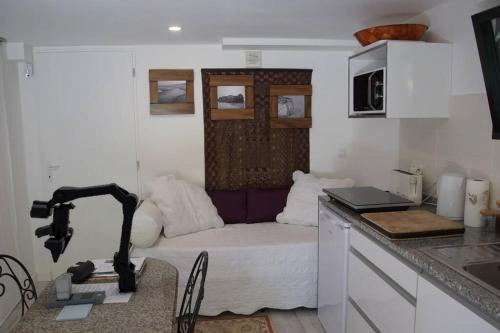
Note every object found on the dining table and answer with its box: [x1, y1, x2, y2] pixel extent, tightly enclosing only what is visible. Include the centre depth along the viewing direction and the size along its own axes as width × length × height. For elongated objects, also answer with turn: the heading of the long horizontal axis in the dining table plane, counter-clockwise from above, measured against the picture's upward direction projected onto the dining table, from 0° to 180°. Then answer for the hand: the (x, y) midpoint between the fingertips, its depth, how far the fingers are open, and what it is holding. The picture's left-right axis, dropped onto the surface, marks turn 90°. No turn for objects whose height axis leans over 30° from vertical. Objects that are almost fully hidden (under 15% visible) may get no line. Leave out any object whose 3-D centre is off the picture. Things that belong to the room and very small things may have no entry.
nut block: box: [55, 274, 73, 301], centre depth 147 cm, size 4×4×10 cm
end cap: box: [66, 260, 96, 284], centre depth 168 cm, size 10×7×7 cm
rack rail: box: [44, 290, 107, 309], centre depth 148 cm, size 20×7×2 cm, turn 98°
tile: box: [55, 304, 94, 323], centre depth 139 cm, size 10×10×1 cm
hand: (58, 258), depth 151 cm, fingers open, 9 cm apart
